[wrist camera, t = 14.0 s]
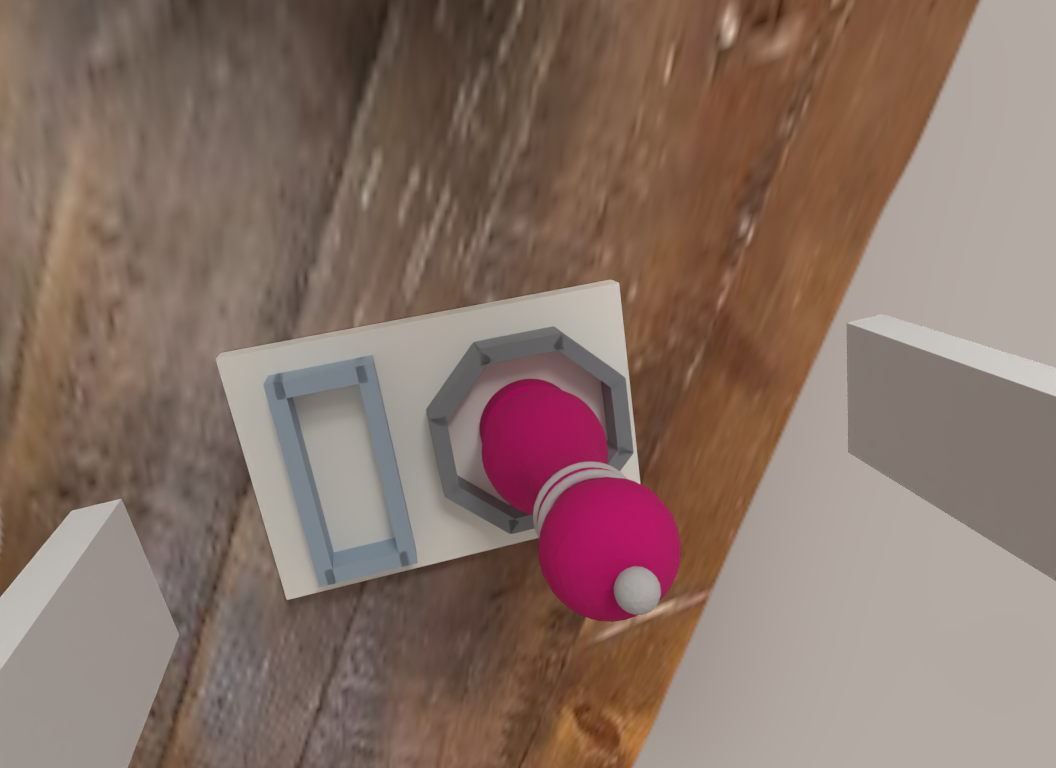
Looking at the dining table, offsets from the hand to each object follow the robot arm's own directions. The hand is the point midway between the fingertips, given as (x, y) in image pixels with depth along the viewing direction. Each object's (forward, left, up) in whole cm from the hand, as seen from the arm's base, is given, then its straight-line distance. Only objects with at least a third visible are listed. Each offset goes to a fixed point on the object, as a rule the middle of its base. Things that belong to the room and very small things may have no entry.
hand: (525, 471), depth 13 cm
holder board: (+11, 0, -31) cm, 33 cm away
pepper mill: (+11, +5, -30) cm, 32 cm away
